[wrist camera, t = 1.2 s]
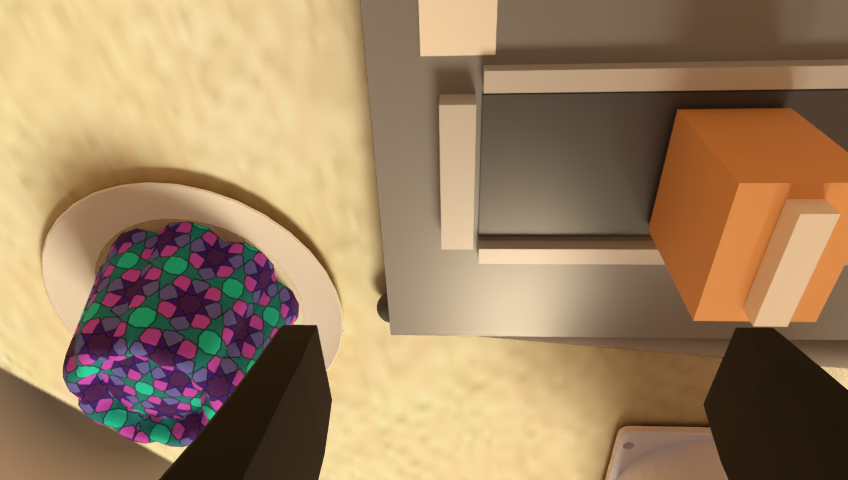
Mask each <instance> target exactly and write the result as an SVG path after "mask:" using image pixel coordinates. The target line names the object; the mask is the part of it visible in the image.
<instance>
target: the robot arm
mask: <svg viewBox="0 0 848 480" xmlns="http://www.w3.org/2000/svg"><path fill="white" fill-rule="evenodd" d="M331 403H332V398H331V393H330V388H329V382H328V377H327V372H326V367H325V362H324V357H323V352H322V347H321V342H320V337H319V332H318V327H317V325H283V326H281V327H280V328H279V329H278V330H277V332H276V333H275V335H274V336H273V337H272V339H271V340H270V342H269V343H268V344H267V346H266V347H265V349H264V350H263V351H262V353H261V354H260V356H259V357H258V358H257V360H256V361H255V362H254V364H253V365H252V366H251V368H250V369H249V371H248V372H247V373H246V374H245V376H244V377H243V378H242V380H241V381H240V382H239V384H238V385H237V386H236V388H235V389H234V390H233V392H232V393H231V394H230V395H229V397H228V398H227V399H226V400H225V402H224V403H223V404H222V406H221V407H220V408H219V409H218V411H217V412H216V413H215V414H214V416H213V417H212V418H211V419H210V421H209V422H208V423H207V424H206V426H205V427H204V428H203V429H202V431H201V432H200V433H199V434H198V435H197V437H196V438H195V439H194V440H193V441H192V442H191V443H190V445H189V446H188V447H187V448H186V449H185V450H184V451H183V453H182V454H181V455H180V456H179V457H178V458H177V460H176V461H175V462H174V463H173V464H172V465H171V466H170V468H169V469H168V470H167V471H166V472H165V473H164V474H163V476H162V477H161V478H160V479H159V480H318V478H319V474H320V470H321V466H322V462H323V458H324V454H325V447H326V440H327V433H328V426H329V418H330V410H331ZM704 407H705V411H706V414H707V418H708V421H709V425H710V427H667V426H625V427H622V428H621V429H620V430H619V431H618V433H617V437H616V440H615V444H614V448H613V452H612V455H611V459H610V463H609V466H608V470H607V474H606V477H605V480H848V390H847V389H846V388H845V387H843V386H842V385H841V384H840V383H839V382H838V381H836V380H835V379H834V378H833V377H832V376H830V375H829V374H828V373H827V372H826V371H825V370H823V369H822V368H821V367H820V366H819V365H818V364H816V363H815V362H814V361H813V360H812V359H810V358H809V357H808V356H807V355H806V354H805V353H803V352H802V351H801V350H800V349H799V348H797V347H796V346H795V345H794V344H793V343H791V342H790V341H789V340H788V339H786V338H785V337H784V336H783V335H781V334H780V333H779V332H778V331H776V330H775V329H774V328H735V331H734V333H733V336H732V338H731V340H730V343H729V345H728V347H727V350H726V352H725V355H724V357H723V359H722V362H721V364H720V367H719V369H718V371H717V374H716V376H715V378H714V381H713V383H712V386H711V388H710V390H709V393H708V395H707V398H706V400H705V402H704Z"/></svg>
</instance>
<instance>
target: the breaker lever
mask: <svg viewBox="0 0 848 480" xmlns="http://www.w3.org/2000/svg"><path fill="white" fill-rule="evenodd" d="M648 231H649V233H650V235H651V237H652V239H653V241H654V243H655V245H656V247H657V249H658V251H659V253H660V255H661V257H662V259H663V261H664V263H665V265H666V267H667V269H668V271H669V273H670V275H671V277H672V279H673V281H674V283H675V285H676V287H677V289H678V291H679V293H680V295H681V297H682V299H683V301H684V303H685V305H686V307H687V309H688V311H689V313H690V315H691V317H692V319H693V321H750V322H751V324H752V326H760V327H788V325H789V323H790V322H816V321H817V319H818V317H819V315H820V313H821V311H822V309H823V307H824V305H825V303H826V301H827V299H828V297H829V295H830V293H831V291H832V289H833V287H834V285H835V283H836V281H837V279H838V277H839V275H840V273H841V271H842V270H843V268H844V266H845V264H846V262H847V260H848V152H847V151H846V150H844V149H843V148H842V147H840V146H839V145H838V144H837V143H835V142H834V141H833V140H831V139H830V138H829V137H828V136H826V135H825V134H824V133H822V132H821V131H820V130H819V129H817V128H816V127H815V126H814V125H812V124H811V123H810V122H808V121H807V120H806V119H805V118H803V117H802V116H801V115H799V114H798V113H797V112H796V111H794V110H793V109H792V108H751V109H677V113H676V117H675V122H674V126H673V130H672V134H671V138H670V142H669V146H668V151H667V155H666V159H665V163H664V167H663V171H662V175H661V180H660V184H659V188H658V192H657V196H656V200H655V204H654V209H653V213H652V217H651V221H650V225H649V229H648Z"/></svg>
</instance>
